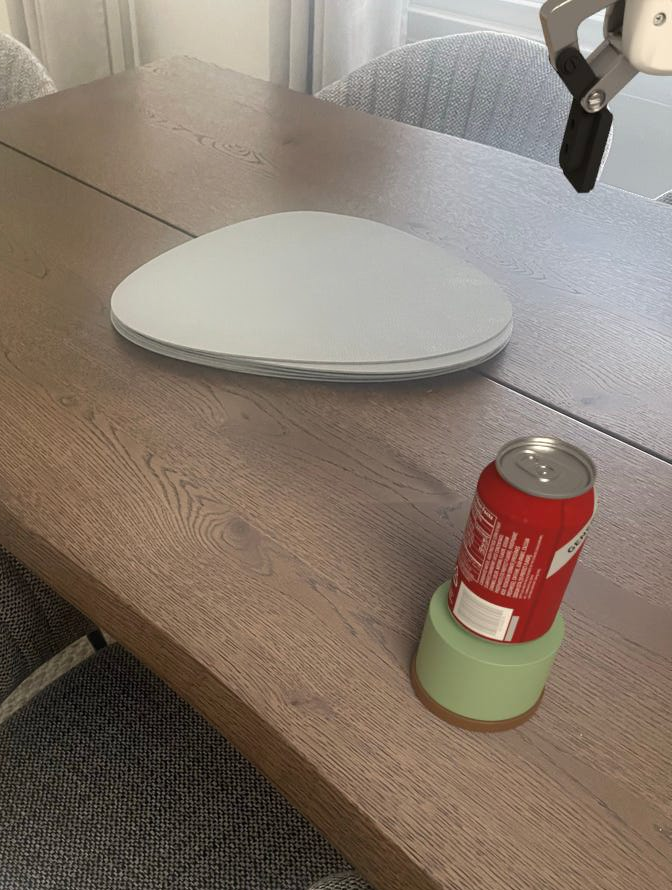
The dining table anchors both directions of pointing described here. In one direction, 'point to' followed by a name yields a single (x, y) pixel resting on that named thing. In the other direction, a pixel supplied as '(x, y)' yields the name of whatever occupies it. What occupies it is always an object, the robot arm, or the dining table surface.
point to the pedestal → (479, 672)
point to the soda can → (523, 540)
